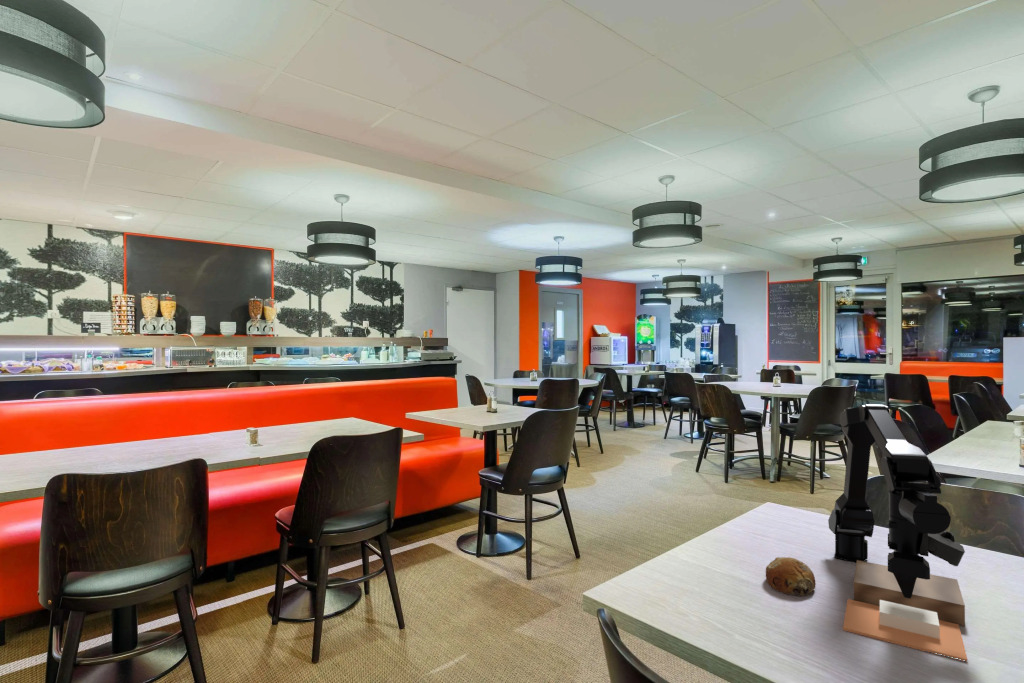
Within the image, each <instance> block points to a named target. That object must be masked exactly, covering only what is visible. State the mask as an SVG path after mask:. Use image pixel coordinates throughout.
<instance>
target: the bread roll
mask: <svg viewBox="0 0 1024 683" xmlns="http://www.w3.org/2000/svg"><path fill="white" fill-rule="evenodd" d="M765 579H766V583H767V584H768V585H769V587H770V586H771V587H772V588H771V587H770V588H771V589H773V590H775V591H777V592H779V593H781V592H782V594H786V595H790V594H791V595H792V596H799V597H801V596H802V597H803V596H807V595H809V594H811V593H812V592H813V591H814V589H815V590H816V578H815V575H814V572H813V571H812V569H811V568H810V567H809V565H807V564H806V563H804V562H803V561H801V560H799V559H797V558H794V557H791V556H789V557H785V556H784V557H782V556H781V557H775V559H774V560H772V561H770V562H769V564H768V565H767V566H766V567H765ZM791 595H790V596H791Z"/></svg>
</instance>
